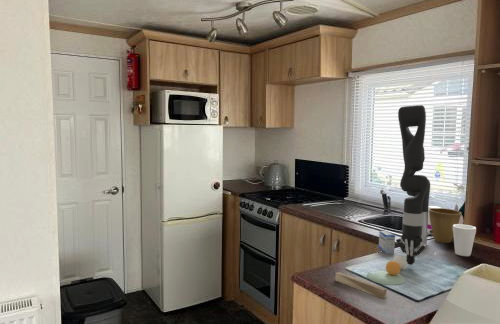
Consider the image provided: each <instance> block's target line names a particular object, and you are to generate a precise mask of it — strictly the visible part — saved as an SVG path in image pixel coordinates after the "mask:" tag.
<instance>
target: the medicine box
mask: <svg viewBox="0 0 500 324" xmlns="http://www.w3.org/2000/svg"><path fill="white" fill-rule="evenodd" d="M395 244H396V235H395V234H393V233H392V232H390V231H387V230H379V235H378V250H380V251H382V252H383V253H384V254H395V249H396V247H395V246H396V245H395Z"/></svg>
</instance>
